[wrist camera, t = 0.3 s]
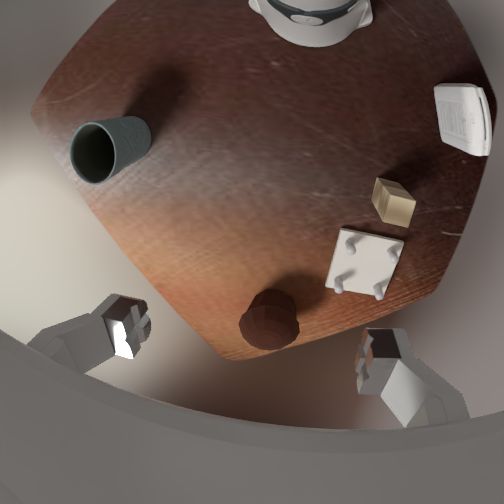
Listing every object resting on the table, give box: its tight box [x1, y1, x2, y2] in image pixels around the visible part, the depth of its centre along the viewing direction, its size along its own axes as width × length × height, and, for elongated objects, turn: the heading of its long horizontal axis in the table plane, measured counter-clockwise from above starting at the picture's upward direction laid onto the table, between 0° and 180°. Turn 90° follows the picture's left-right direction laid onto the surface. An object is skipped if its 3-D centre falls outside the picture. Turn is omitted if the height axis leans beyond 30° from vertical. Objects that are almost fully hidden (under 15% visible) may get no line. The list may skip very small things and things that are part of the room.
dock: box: [325, 228, 404, 300], centre depth 48 cm, size 12×12×4 cm
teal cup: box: [70, 116, 152, 185], centre depth 41 cm, size 10×10×12 cm
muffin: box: [239, 290, 300, 350], centre depth 55 cm, size 12×11×10 cm
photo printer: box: [434, 83, 492, 156], centre depth 28 cm, size 10×4×12 cm, turn 15°
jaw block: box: [371, 177, 416, 227], centre depth 39 cm, size 4×4×9 cm
